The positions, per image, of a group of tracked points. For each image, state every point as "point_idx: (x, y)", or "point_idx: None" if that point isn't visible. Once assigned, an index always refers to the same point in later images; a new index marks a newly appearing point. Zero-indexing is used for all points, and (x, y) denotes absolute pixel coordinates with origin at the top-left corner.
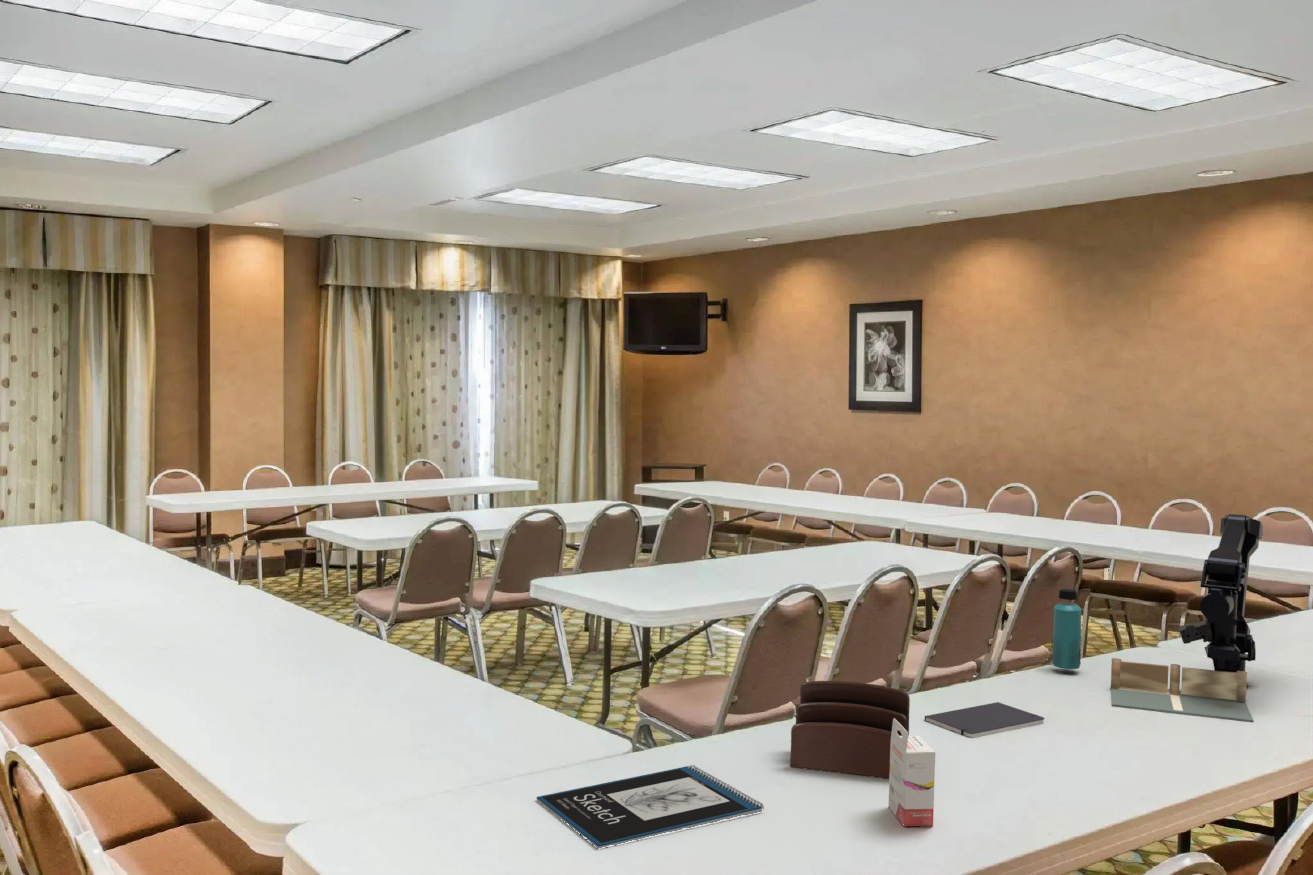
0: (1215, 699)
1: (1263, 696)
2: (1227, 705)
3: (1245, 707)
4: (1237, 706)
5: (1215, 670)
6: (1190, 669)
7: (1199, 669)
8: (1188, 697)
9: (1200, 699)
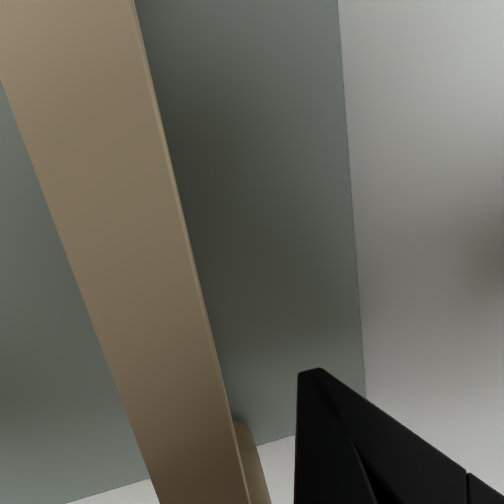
0: None
1: (471, 458)
2: (31, 404)
3: (75, 490)
4: (62, 453)
5: (296, 500)
6: (36, 146)
7: (138, 331)
8: None
9: None
